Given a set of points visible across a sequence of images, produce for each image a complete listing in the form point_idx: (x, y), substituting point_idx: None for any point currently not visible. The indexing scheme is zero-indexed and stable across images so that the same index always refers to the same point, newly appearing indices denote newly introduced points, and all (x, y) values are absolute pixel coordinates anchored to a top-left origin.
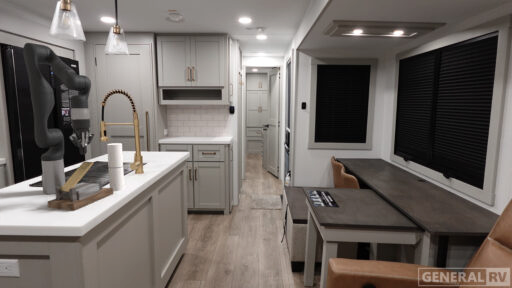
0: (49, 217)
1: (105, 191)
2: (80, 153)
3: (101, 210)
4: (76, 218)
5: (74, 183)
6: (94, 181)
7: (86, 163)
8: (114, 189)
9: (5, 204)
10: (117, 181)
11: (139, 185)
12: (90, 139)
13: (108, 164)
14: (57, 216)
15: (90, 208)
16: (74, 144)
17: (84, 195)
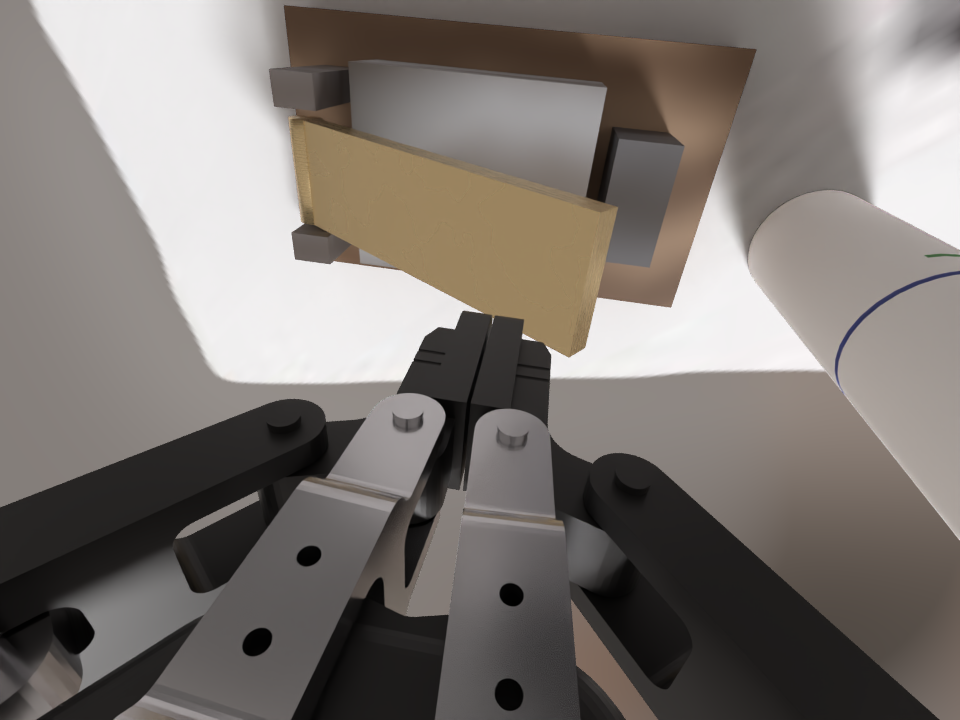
0: (210, 176)
1: None
2: (460, 317)
3: (377, 372)
4: (261, 321)
5: (344, 238)
6: (649, 202)
7: (552, 277)
8: (751, 261)
9: None
10: (781, 313)
11: None
12: (674, 704)
13: (915, 313)
14: (238, 210)
15: (384, 305)
16: (226, 422)
17: None
